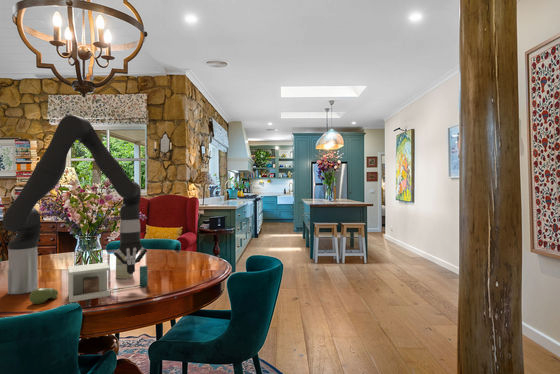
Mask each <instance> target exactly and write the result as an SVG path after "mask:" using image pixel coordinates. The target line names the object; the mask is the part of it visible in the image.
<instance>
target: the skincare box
mask: <svg viewBox="0 0 560 374" xmlns="http://www.w3.org/2000/svg"><path fill="white" fill-rule="evenodd" d="M120 253H121V255H120V256H121V257H122V258H123V259H124V260H125V261H126V256H125V255H124V254H123V253H122V252H121V251H120ZM130 262H131V256H130ZM133 276H134V273H133V274H129V273H127V265H126V264H123V263H122V262H121V261H120V260H119V259H118V258H117V257H116V256H115V279H130V278H132V277H133Z"/></svg>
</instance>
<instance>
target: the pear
mask: <svg viewBox="0 0 560 374" xmlns="http://www.w3.org/2000/svg"><path fill="white" fill-rule="evenodd" d="M58 291H59V290H58V289H55V288H52V287H50V288H47V287H41V288H38V289H35V290H33V291H32V292H30V294H29V302H30V303H32V304H34V305H40V304H43V303H45V302H46V301H48V300H49V299H50V300H51V299H52V300H55V299H57V298H58V295H59V292H58Z"/></svg>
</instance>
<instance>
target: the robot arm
mask: <svg viewBox="0 0 560 374" xmlns="http://www.w3.org/2000/svg"><path fill="white" fill-rule="evenodd" d="M76 141H78V142H79V143H80V144H82V145H83V146H84V147H85V148H86V149H87V150H88V152H90V155H91V156H92V159H93V160H94V163H95V164H96V167H98V169H99V171H100V172H102V174H103V175H104V177H106V178H107V179H108V181H109V183H110V184H111V186H112V187H113V189H114V190H115V191H116V193H117V194H118V195H119V196H120V197H121V198H122V205H121V206H120V210H119V211H120V212H119V213H120V214H119V216H120V219H119V220H120V222H119V246H118V249H116V251H114V252H112V254H113V256H115V258H116V257H117V258H118V259H119V260H120V261H121V262H122V263H123V264H126V265H127V273H129V274H133V275H134V273H135V272H136V264H137V263H140V262H141V261H142V259H143V258H144V256H145V255H146V254H147V252H148V249H147V248H145V247H143V245H142V242H141V221H140V203H141V197H142V196H141V192H142V191H141V190H142V189H141V186H140V184H138V182H136V181H132V180H131V179H130V177H128V175H127V174H126V170H125V168H123V166H122V165H121V164H120V163H119V161H118V160H116V158H115V157H114V156H113V155H112V154H111V152H110V150H108V149H107V147H106V145H105V144H104V143H103V141H102V140H101V139H100V137H99V135H98V134H97V132H96V130H95V129H94V127H93V126H92V124H91V122H90V121H89V120H88V119H86V118H85V117H82V116H79V115H75V114H68V115H65V116H64V117H62V118H61V120H60V121H59V123H58V125H57V127H56V129H55V131H54V133H53V136H52V138H51V139H50V143H49V145H47V148H46V149H45V151H44V153H42V156H41V158H40V159H39V161H38V163H37V164H36V165H35V167H34V168H33V171H32V172H31V174H30V176H29V178H28V179H27V181H26V182H25V184H24V186H23V188H22V189H21V191H20V192H19V194H18V195H17V196H16V198H15V199H14V200H13V202H12V203H11V204H10V206H9V207H8V208H7V210H6V211H5V213H4V215H3V217H2V225H3V227H4V229H5V230H6V231H8V232H13V233H14V232H16V235H15V237H13V238H12V239H11V240H9V242H8V244H7V245H8V246H7V247H8V254H7V255H8V258H7V259H8V269H7V295H8V294H10V295H24V294H28V293H31V292H32V291H33V290H35V289H39V288H38V287H39V286H38V285H39V284H38V282H39V281H38V279H39V276H38V269H39V268H38V266H39V265H38V243H39V241H40V239H41V238H40V236H41V222H42V221H41V214H40V213H39V211H38V210H37V209H36V208H35V206H36V205H37V203H38V202H40V200H42V199H43V198H44V197H45V196H46V195H48V194H49V193H51V191H53V189H55V188H56V186H57V185H58V184H59V182H60V181H61V179H62V177H63V175H64V173H65V171H66V166H67V157H68V154H69V152H70V150H71V149H72V147H73V145H74V144H75V142H76ZM120 251H121V252H122V253H123V254H124V255H125V256H126V261H125V260H124V259H123V258H122V257H121V256H120V255H121V253H120ZM137 254H138V256H137ZM130 256H131V262H130Z"/></svg>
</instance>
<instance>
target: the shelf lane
mask: <svg viewBox="0 0 560 374" xmlns="http://www.w3.org/2000/svg"><path fill="white" fill-rule="evenodd" d="M67 271H68V272H67V277H68V281H67V284H68V287H67V289H68V291H67V292H68V293H67V294H68V303H74V302H79V301H85V300H92V299H97V298H105V297H110V296H111V291H110V290H108V271H111V267H110V266H109V264H108V262H107V261H106V262H100V263H99V262H98V263H91V264H89V263H88V264H80V265H79V264H78V265H71V266H68V267H67ZM94 276H98V278H99V291H101V292H94V293H88V294H83V278H86V277H94ZM102 290H107V291H102Z"/></svg>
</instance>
